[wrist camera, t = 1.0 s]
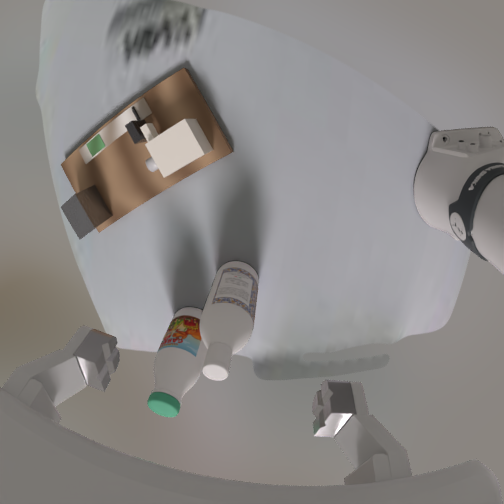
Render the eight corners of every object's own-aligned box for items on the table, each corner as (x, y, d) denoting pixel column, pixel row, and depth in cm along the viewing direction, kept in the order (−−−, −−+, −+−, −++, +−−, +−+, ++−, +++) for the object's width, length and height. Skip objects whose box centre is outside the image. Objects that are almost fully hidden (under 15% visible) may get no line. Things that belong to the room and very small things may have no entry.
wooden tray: (187, 69, 33) (183, 67, 32) (233, 151, 38) (231, 152, 36) (65, 162, 40) (59, 164, 38) (103, 229, 45) (98, 233, 43)
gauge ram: (187, 103, 34) (175, 101, 30) (213, 150, 37) (204, 154, 32) (141, 133, 36) (124, 136, 32) (165, 177, 39) (151, 185, 34)
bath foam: (238, 303, 49) (219, 398, 31) (208, 277, 47) (172, 368, 29) (267, 279, 46) (260, 375, 28) (236, 251, 45) (209, 340, 27)
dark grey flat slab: (137, 107, 34) (124, 106, 31) (153, 136, 36) (141, 139, 33) (131, 111, 35) (117, 112, 31) (147, 141, 37) (134, 144, 33)
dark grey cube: (94, 184, 40) (75, 194, 35) (112, 215, 42) (95, 228, 37) (80, 196, 41) (60, 207, 36) (97, 226, 43) (79, 239, 38)
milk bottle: (222, 322, 51) (199, 414, 33) (199, 343, 54) (172, 428, 36) (188, 298, 49) (149, 386, 31) (167, 321, 52) (128, 403, 34)
